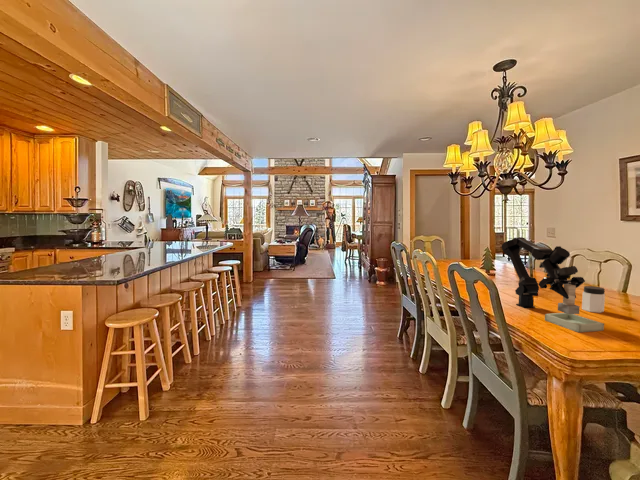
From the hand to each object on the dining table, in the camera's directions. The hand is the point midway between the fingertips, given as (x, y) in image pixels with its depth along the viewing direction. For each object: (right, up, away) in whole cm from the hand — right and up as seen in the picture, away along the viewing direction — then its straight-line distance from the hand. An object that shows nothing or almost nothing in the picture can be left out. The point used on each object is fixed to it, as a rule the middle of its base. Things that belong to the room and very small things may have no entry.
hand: (571, 298), depth 143 cm
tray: (0, -12, -1) cm, 12 cm away
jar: (+28, -10, +22) cm, 37 cm away
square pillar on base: (0, -7, +2) cm, 7 cm away
